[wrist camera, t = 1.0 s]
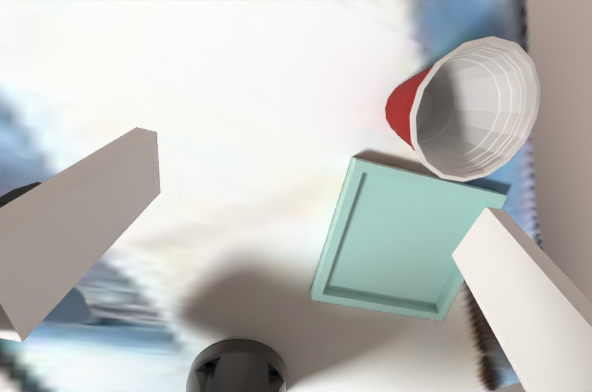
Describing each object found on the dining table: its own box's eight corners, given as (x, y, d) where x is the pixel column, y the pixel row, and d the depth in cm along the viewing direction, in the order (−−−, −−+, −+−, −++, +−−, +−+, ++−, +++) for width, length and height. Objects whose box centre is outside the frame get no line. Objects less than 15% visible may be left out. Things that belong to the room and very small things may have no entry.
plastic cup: (447, 153, 35) (528, 181, 24) (361, 155, 34) (402, 184, 23) (465, 56, 31) (570, 35, 20) (368, 56, 31) (421, 34, 20)
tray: (435, 311, 43) (442, 321, 42) (309, 290, 41) (311, 300, 39) (495, 191, 37) (507, 196, 35) (352, 156, 34) (356, 159, 33)
